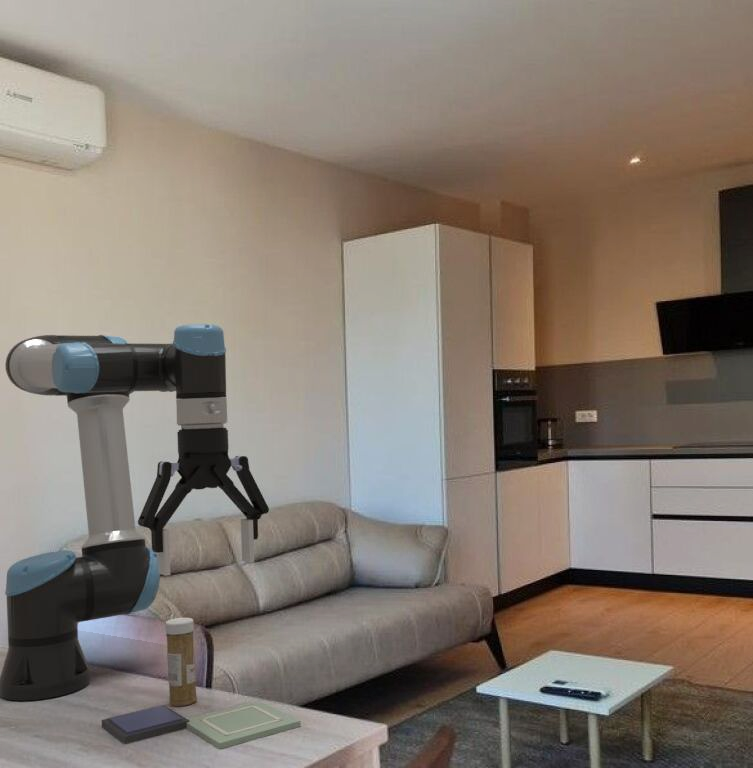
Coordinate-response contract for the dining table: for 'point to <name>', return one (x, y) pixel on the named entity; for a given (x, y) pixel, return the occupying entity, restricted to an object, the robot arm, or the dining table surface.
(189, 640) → the sprinkles bottle
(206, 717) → the board
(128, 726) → the ink pad
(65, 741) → the dining table surface
